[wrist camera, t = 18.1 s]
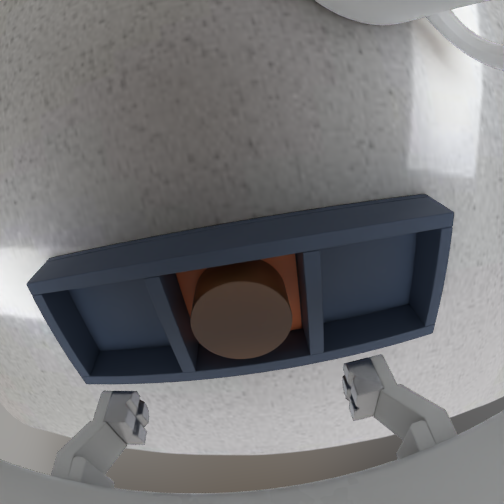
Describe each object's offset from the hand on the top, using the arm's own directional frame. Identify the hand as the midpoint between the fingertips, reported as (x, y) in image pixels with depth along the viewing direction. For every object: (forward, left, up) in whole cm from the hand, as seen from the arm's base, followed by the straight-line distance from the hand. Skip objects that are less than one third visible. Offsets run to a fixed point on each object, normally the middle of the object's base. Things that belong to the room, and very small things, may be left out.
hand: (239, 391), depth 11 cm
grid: (0, 0, -8) cm, 8 cm away
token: (0, 0, -7) cm, 7 cm away
